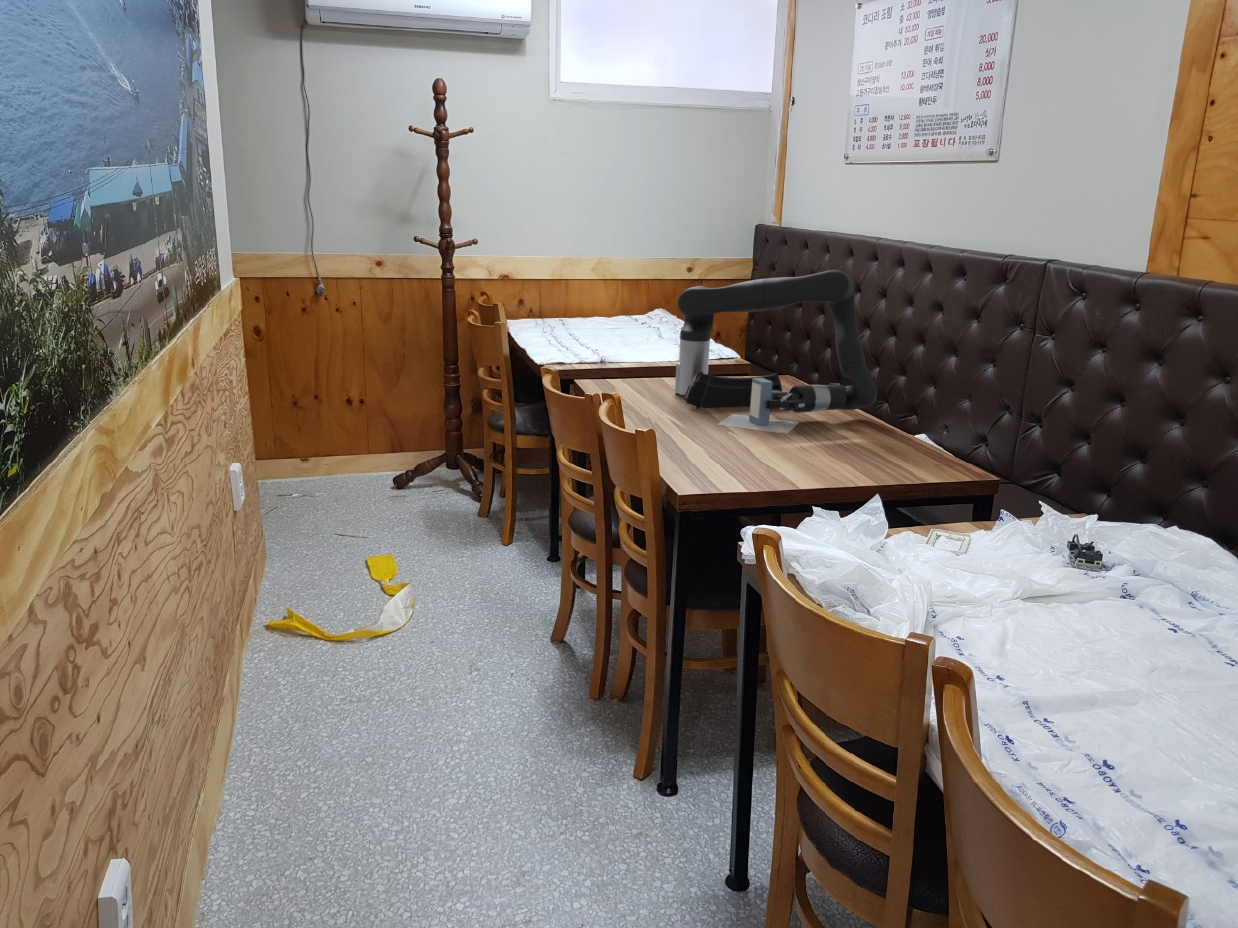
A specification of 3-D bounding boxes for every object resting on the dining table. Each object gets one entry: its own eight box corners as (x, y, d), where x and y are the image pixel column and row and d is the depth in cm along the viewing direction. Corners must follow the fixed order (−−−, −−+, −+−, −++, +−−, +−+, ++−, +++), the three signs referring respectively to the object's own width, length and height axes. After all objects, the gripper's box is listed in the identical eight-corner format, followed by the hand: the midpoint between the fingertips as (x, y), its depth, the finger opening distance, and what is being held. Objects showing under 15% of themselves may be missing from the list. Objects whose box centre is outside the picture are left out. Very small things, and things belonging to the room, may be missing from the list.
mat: (717, 427, 238) (717, 424, 238) (732, 416, 251) (732, 413, 250) (786, 436, 231) (787, 433, 231) (798, 425, 244) (799, 422, 243)
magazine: (790, 376, 265) (701, 348, 255) (794, 378, 262) (704, 350, 252) (770, 430, 268) (681, 404, 259) (774, 432, 265) (685, 406, 256)
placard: (758, 426, 238) (762, 382, 234) (748, 421, 243) (751, 378, 239) (768, 425, 239) (772, 381, 235) (758, 420, 244) (762, 377, 240)
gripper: (796, 380, 250) (746, 382, 244) (825, 390, 237) (773, 393, 231) (794, 406, 252) (744, 409, 246) (822, 417, 239) (770, 421, 234)
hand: (758, 401), depth 239 cm, fingers open, 8 cm apart
